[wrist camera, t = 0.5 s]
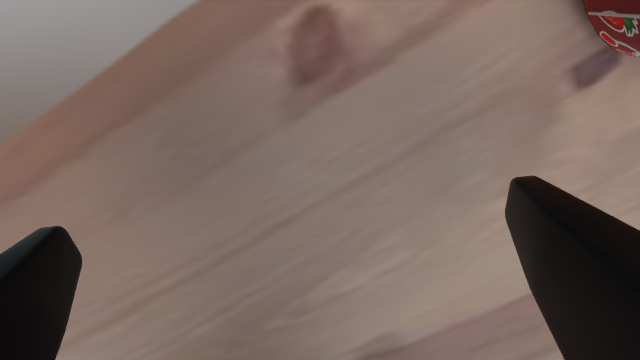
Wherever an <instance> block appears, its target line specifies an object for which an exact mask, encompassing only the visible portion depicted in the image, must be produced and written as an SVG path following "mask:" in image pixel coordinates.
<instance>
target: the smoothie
mask: <svg viewBox="0 0 640 360" xmlns="http://www.w3.org/2000/svg"><path fill="white" fill-rule="evenodd" d="M585 10H586V12H587V14H588V17H589V19H590V21H591V23H592V25H593V26H594V29H595V31H596V33H597V35H598V36H599V37H600V38H601V39H602V40H603V41H604V42H605V43H607V44H608V45H609V46H610V47H611V48H612V49H615V50H617V51H620V52H622V53H625V54H627V55H630V56H635V57H639V58H640V0H585Z"/></svg>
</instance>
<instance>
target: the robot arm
mask: <svg viewBox="0 0 640 360" xmlns="http://www.w3.org/2000/svg"><path fill="white" fill-rule="evenodd" d="M505 217H506V222H507V225H508V227H509V230H510V233H511V236H512V239H513V242H514V245H515V248H516V250H517V253H518V256H519V259H520V262H521V265H522V268H523V271H524V273H525V276H526V279H527V282H528V284H529V287H530V289H531V291H532V294H533V296H534V298H535V300H536V302H537V304H538V306H539V308H540V310H541V312H542V314H543V317H544V319H545V321H546V323H547V325H548V327H549V329H550V331H551V333H552V335H553V337H554V339H555V341H556V343H557V345H558V347H559V349H560V351H561V353H562V355H563V358H564V360H640V231H639V230H637V229H636V228H634V227H632V226H630V225H628V224H626V223H624V222H622V221H620V220H618V219H617V218H615V217H613V216H611V215H609V214H607V213H605V212H603V211H601V210H599V209H598V208H596V207H594V206H592V205H590V204H588V203H586V202H584V201H582V200H580V199H579V198H577V197H575V196H573V195H571V194H569V193H567V192H565V191H563V190H561V189H560V188H558V187H556V186H554V185H552V184H550V183H548V182H546V181H544V180H542V179H541V178H539V177H536V176H524V177H516V178H514V179H512V181H511V183H510V187H509V192H508V198H507V203H506V208H505ZM81 267H82V257H81V254H80V252H79V250H78V248H77V247H76V245H75V244H74V242H73V240H72V239H71V237H70V236H69V234H68V232H67V231H66V230H65V229H64V228H63V227H60V226H54V227H44V228H40V229H38V230H36V231H35V232H33V233H32V234H30V235H29V236H27V237H26V238H24V239H23V240H21V241H20V242H18V243H17V244H15V245H14V246H12V247H11V248H9V249H8V250H6V251H5V252H3V253H2V254H0V360H55V359H56V356H57V353H58V351H59V348H60V345H61V342H62V339H63V336H64V333H65V330H66V326H67V323H68V319H69V315H70V311H71V307H72V303H73V299H74V295H75V291H76V287H77V283H78V279H79V275H80V271H81Z"/></svg>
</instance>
